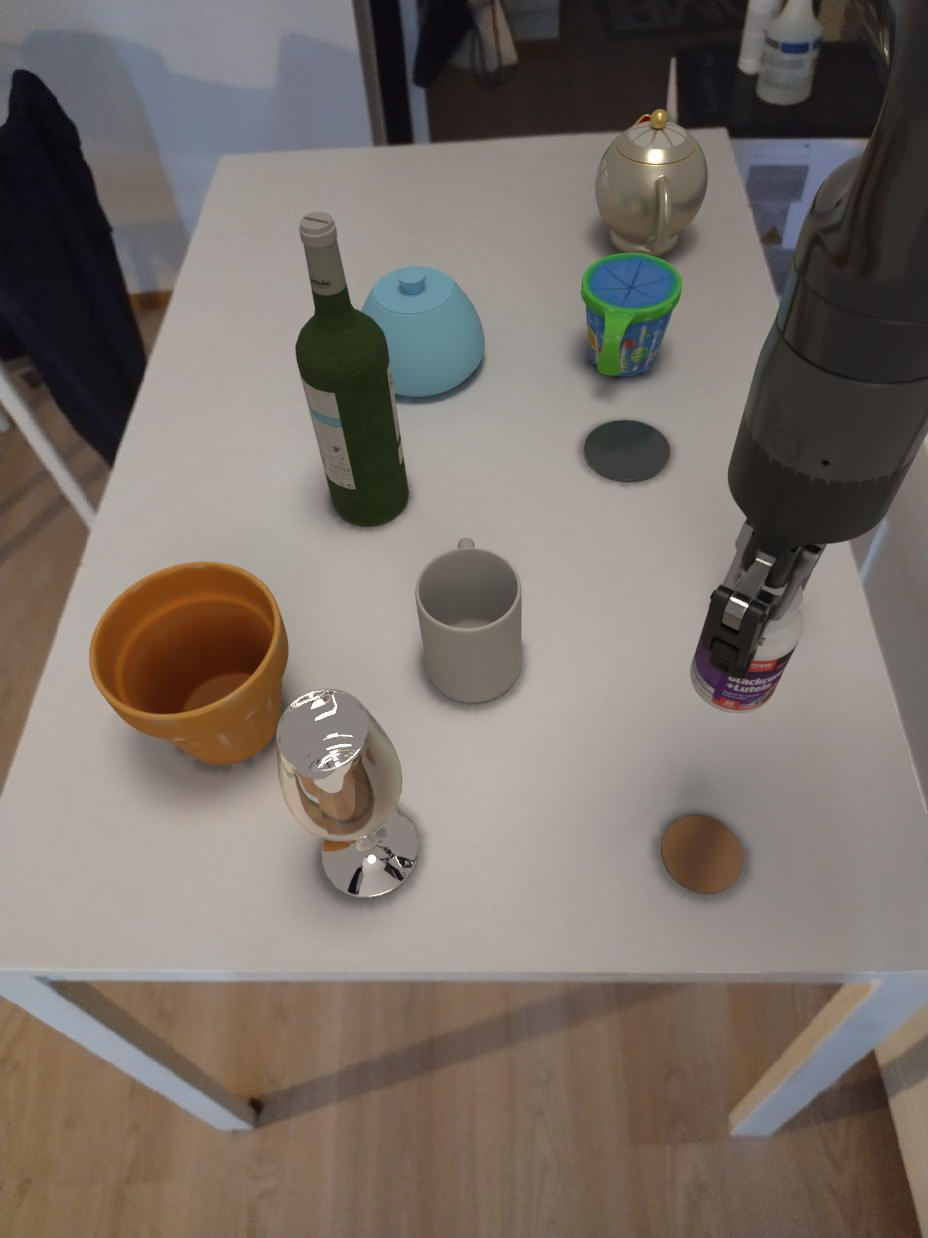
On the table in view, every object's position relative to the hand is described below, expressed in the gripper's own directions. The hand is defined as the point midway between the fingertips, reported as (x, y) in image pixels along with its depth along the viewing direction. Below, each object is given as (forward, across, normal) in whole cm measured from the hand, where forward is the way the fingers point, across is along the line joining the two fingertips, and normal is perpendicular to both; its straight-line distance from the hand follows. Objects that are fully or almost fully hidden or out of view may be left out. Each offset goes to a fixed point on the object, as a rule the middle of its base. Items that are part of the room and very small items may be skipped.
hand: (750, 631), depth 51 cm
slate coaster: (+21, +30, +23) cm, 43 cm away
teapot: (+22, +64, +39) cm, 78 cm away
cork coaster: (+21, -5, -3) cm, 22 cm away
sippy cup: (+22, +43, +31) cm, 57 cm away
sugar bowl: (+21, +30, +50) cm, 62 cm away
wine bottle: (+21, +10, +41) cm, 48 cm away
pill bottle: (+6, 0, 0) cm, 6 cm away
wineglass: (+21, -19, +18) cm, 34 cm away
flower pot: (+21, -17, +35) cm, 44 cm away
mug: (+21, +1, +22) cm, 31 cm away
